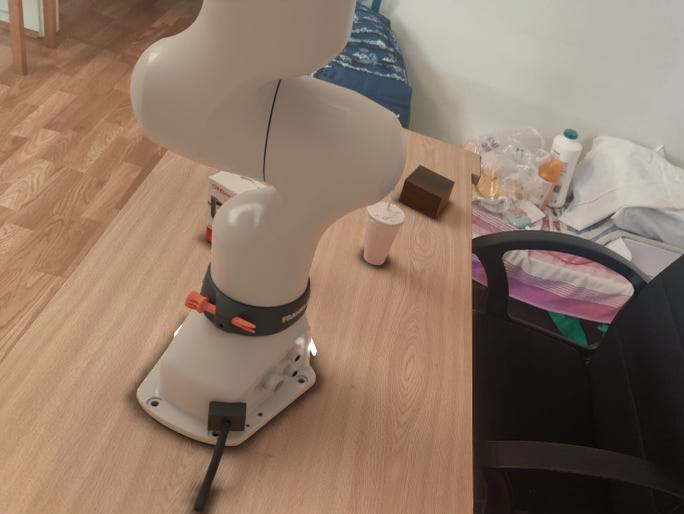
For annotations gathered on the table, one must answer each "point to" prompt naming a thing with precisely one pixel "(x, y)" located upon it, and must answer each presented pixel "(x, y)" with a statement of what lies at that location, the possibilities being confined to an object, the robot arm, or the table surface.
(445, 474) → the table surface
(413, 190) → the block
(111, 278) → the table surface
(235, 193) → the ink box
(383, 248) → the smoothie
